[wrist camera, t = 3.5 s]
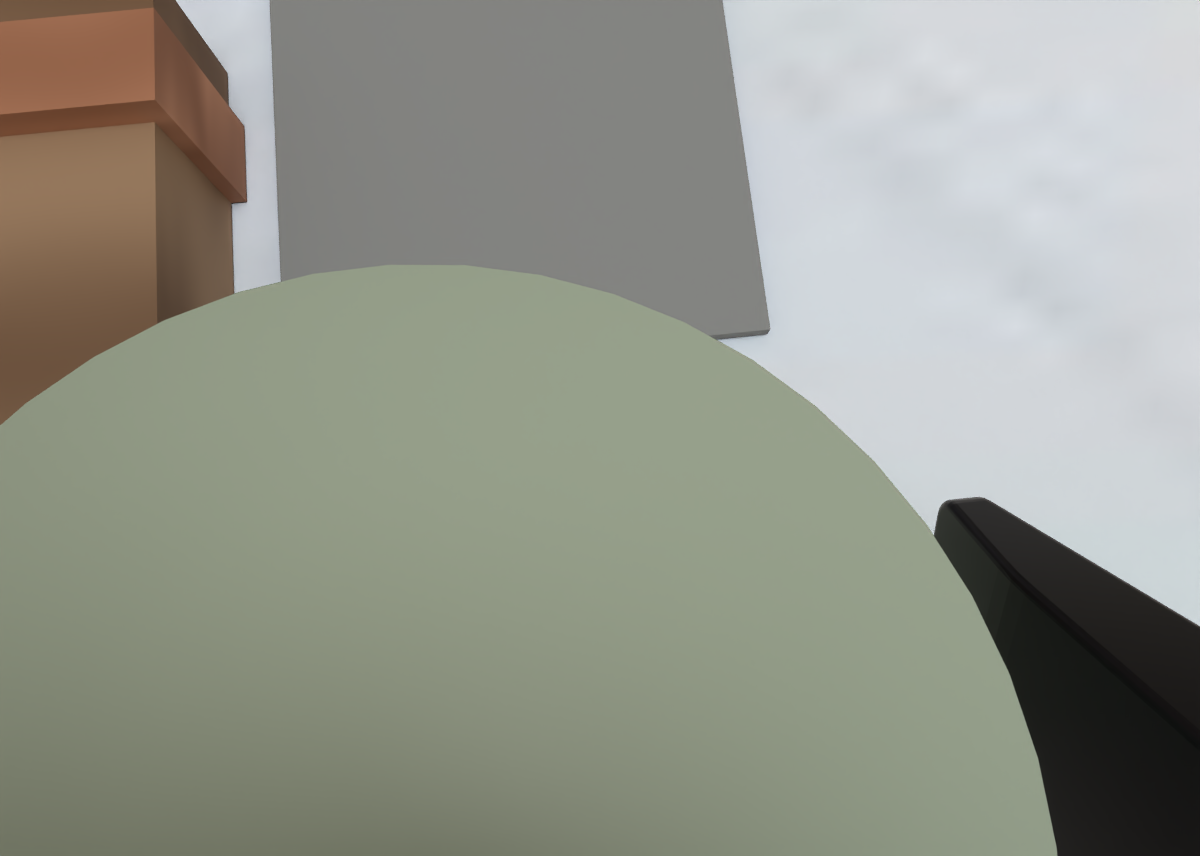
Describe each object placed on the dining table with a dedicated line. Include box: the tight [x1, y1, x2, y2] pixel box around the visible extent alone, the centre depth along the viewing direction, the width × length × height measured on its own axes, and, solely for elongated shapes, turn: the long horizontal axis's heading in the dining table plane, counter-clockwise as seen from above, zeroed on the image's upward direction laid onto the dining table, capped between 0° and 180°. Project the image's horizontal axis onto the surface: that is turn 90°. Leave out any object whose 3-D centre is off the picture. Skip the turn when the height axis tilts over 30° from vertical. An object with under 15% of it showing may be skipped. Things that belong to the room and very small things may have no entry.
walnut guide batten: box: [0, 0, 247, 425], centre depth 15 cm, size 14×4×4 cm, turn 6°
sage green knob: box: [0, 265, 1057, 856], centre depth 9 cm, size 6×6×12 cm
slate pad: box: [270, 0, 770, 339], centre depth 17 cm, size 9×9×1 cm
